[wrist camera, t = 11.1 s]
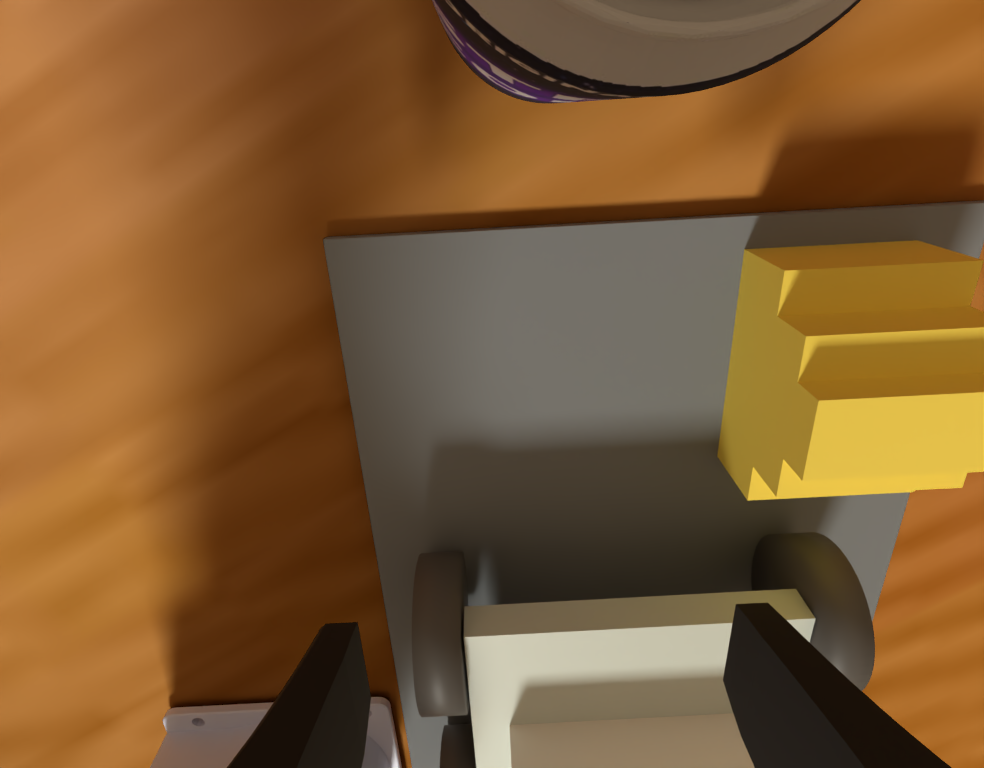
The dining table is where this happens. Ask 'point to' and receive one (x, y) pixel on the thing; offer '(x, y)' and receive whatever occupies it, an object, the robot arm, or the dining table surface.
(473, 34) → the beverage can
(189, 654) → the dining table surface
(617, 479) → the mat
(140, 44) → the dining table surface
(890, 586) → the dining table surface
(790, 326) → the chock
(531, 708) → the trolley
